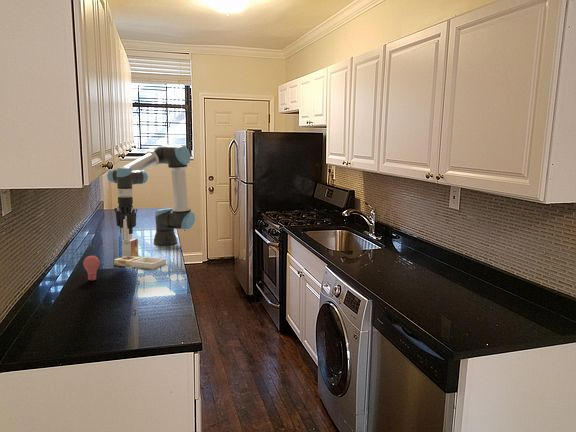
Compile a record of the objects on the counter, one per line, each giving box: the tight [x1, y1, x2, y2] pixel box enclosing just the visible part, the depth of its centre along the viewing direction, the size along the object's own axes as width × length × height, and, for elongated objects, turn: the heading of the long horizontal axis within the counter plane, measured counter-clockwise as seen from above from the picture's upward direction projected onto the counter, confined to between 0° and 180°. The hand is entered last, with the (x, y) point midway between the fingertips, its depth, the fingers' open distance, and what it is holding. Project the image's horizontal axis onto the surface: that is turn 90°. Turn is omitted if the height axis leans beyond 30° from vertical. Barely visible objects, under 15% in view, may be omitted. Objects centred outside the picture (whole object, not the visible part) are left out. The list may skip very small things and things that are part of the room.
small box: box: [121, 237, 139, 257], centre depth 252 cm, size 8×6×10 cm
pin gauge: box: [123, 217, 130, 245], centre depth 236 cm, size 3×3×14 cm
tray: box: [131, 256, 167, 271], centre depth 236 cm, size 12×13×3 cm
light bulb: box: [82, 255, 100, 281], centre depth 208 cm, size 7×7×12 cm
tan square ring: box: [113, 255, 142, 268], centre depth 239 cm, size 10×10×3 cm
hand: (126, 239), depth 237 cm, fingers closed on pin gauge, 3 cm apart
